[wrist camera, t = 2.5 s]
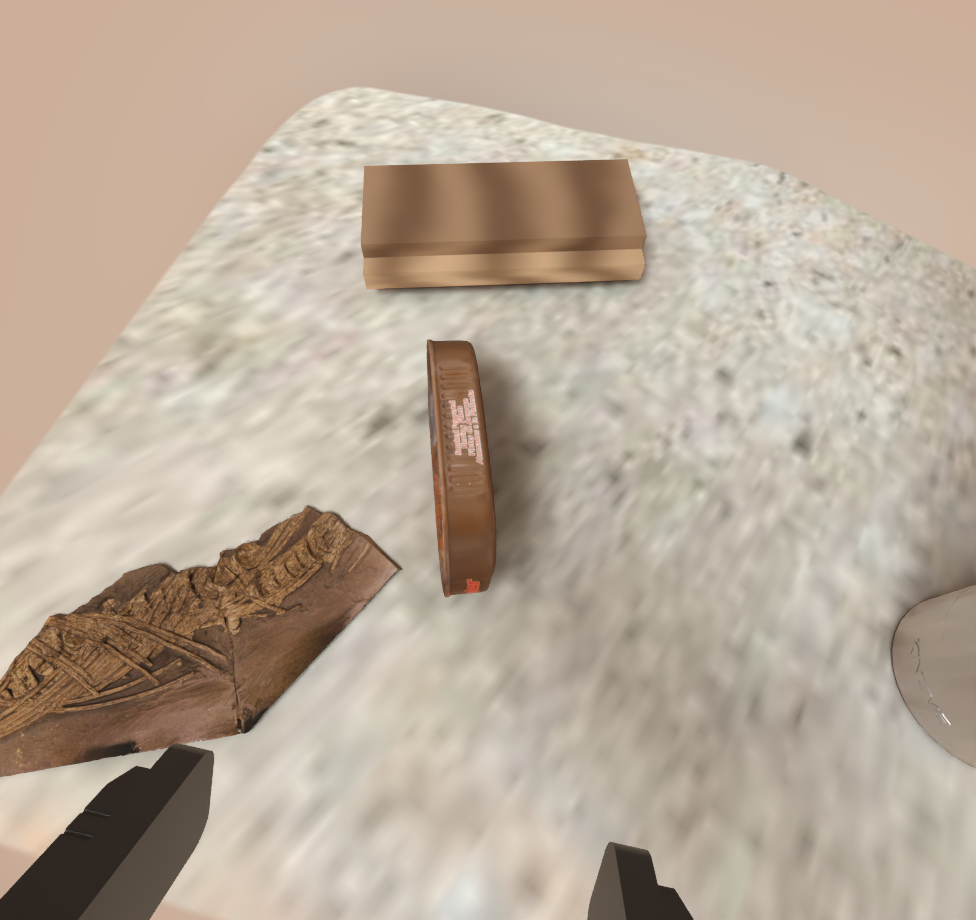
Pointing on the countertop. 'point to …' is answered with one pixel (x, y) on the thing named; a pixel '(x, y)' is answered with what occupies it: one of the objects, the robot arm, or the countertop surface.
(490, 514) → the tin
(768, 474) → the countertop surface
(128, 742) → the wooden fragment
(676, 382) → the countertop surface
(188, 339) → the countertop surface
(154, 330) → the countertop surface
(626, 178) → the walnut plank
